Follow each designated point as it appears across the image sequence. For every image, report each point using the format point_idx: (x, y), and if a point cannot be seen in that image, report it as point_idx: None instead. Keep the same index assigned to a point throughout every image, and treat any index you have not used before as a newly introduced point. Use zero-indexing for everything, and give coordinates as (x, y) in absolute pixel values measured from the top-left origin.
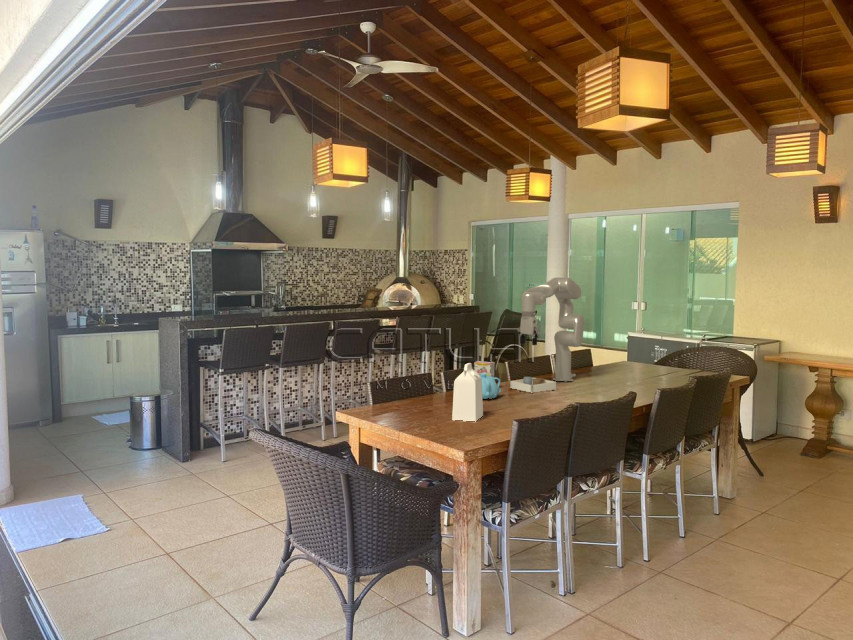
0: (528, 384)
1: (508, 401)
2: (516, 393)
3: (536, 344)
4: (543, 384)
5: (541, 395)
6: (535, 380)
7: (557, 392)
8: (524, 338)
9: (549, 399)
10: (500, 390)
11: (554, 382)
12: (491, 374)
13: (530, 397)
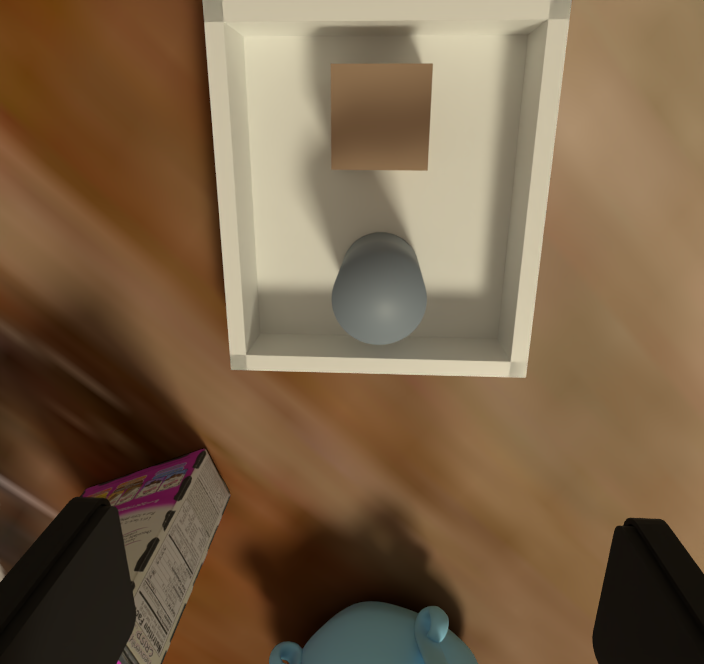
0: (464, 362)
1: (557, 615)
2: (400, 409)
3: (661, 535)
4: (543, 225)
5: (589, 317)
6: (375, 169)
7: (609, 95)
8: (27, 645)
9: None
10: (448, 624)
11: (566, 42)
12: (186, 583)
13: (576, 434)
